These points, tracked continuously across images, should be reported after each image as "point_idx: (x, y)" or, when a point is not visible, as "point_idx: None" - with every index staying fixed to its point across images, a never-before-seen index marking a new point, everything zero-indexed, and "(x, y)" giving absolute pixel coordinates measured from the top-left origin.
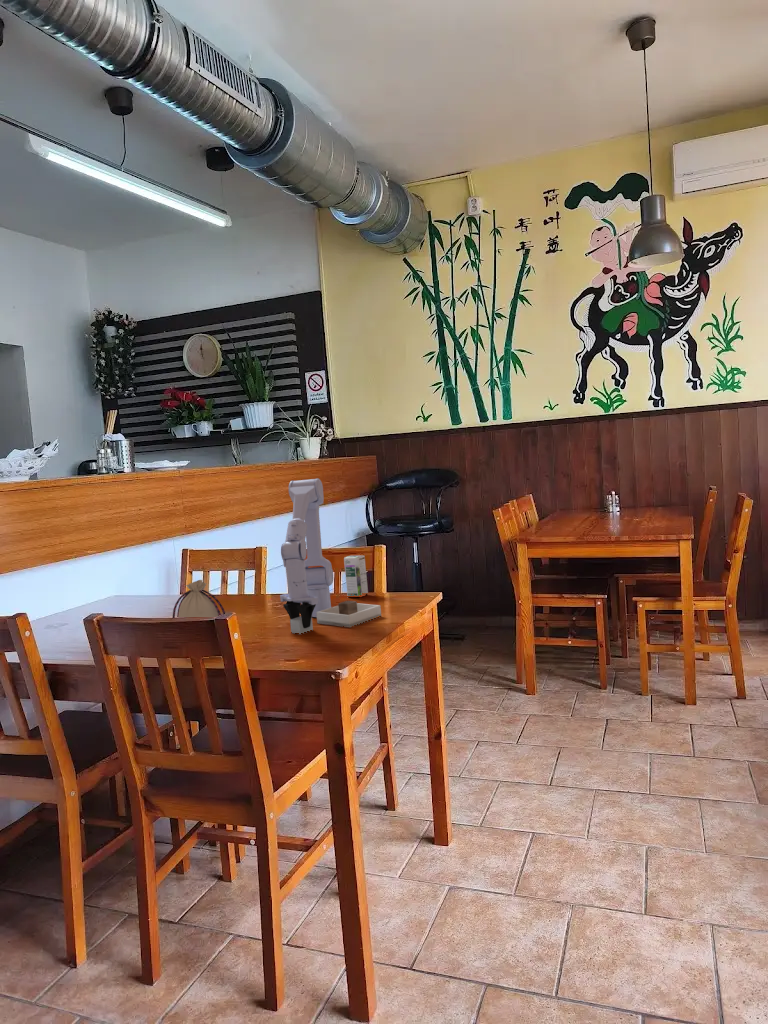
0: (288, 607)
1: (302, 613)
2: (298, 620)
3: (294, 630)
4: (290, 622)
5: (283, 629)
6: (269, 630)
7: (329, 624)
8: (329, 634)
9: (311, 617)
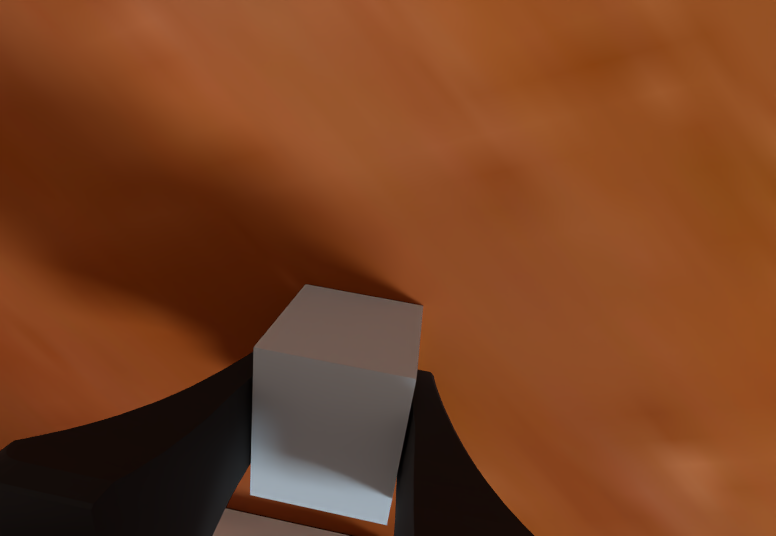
0: (411, 527)
1: (146, 415)
2: (269, 356)
3: (373, 308)
4: (414, 358)
5: (583, 388)
6: (724, 341)
7: (280, 522)
8: (75, 321)
9: (251, 486)
